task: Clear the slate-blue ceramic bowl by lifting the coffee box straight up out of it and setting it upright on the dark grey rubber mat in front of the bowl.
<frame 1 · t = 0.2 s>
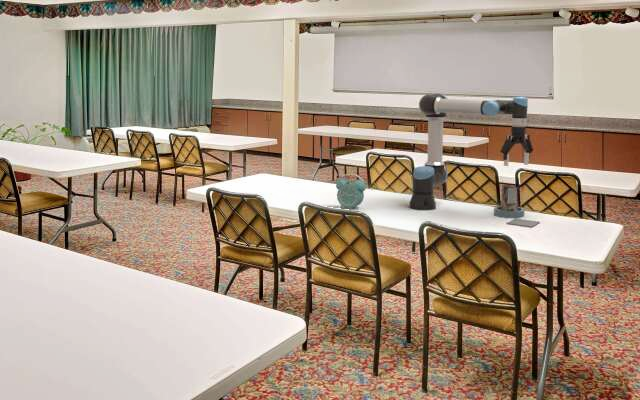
hand: (516, 165, 334), 27 cm above the table, tool pointing down, fingers open, 13 cm apart
alarm clock: (350, 208, 356), on the table
mat: (523, 223, 320), on the table
coffee box: (508, 215, 339), resting in bowl
bowl: (508, 214, 339), on the table
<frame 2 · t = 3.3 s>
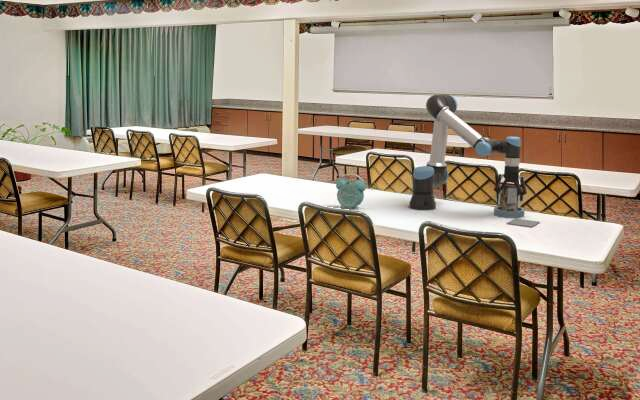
hand: (509, 205, 338), 5 cm above the table, tool pointing down, fingers closed on coffee box, 10 cm apart
coffee box: (508, 215, 339), resting in bowl, touching gripper
everything else where it was.
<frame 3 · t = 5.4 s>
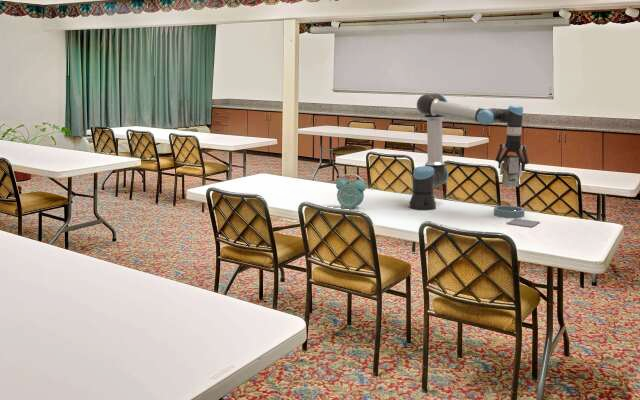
hand: (510, 175, 335), 22 cm above the table, tool pointing down, fingers closed on coffee box, 10 cm apart
coffee box: (510, 185, 336), point 16 cm above the table, touching gripper
everything else where it was.
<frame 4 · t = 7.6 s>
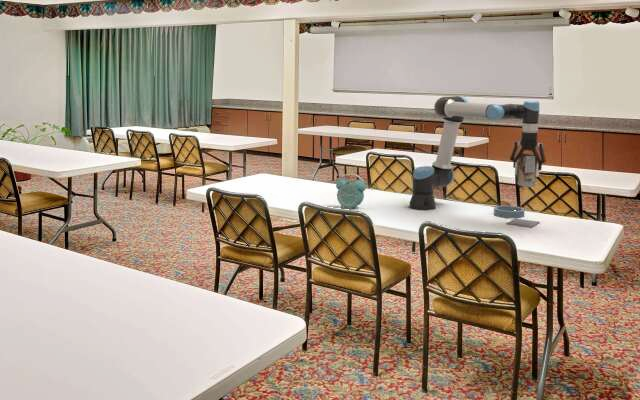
hand: (526, 175, 315), 25 cm above the table, tool pointing down, fingers closed on coffee box, 10 cm apart
coffee box: (525, 185, 316), point 20 cm above the table, touching gripper
everything else where it was.
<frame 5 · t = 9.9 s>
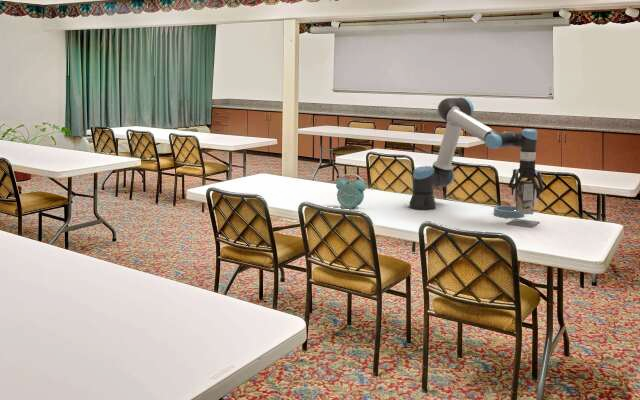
hand: (524, 202, 318), 11 cm above the table, tool pointing down, fingers closed on coffee box, 10 cm apart
coffee box: (524, 213, 319), point 6 cm above the table, touching gripper
everything else where it was.
when the fingers open (7 cm above the table, at t = 11.8 s): coffee box drops 1 cm, resting on mat.
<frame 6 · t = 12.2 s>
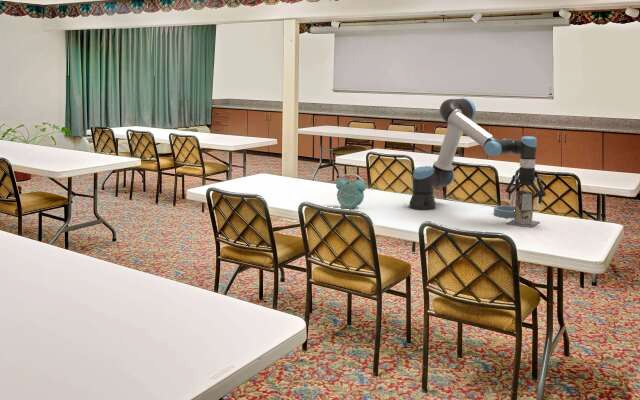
hand: (524, 207, 318), 8 cm above the table, tool pointing down, fingers open, 13 cm apart
coffee box: (522, 222, 320), resting on mat
everything else where it was.
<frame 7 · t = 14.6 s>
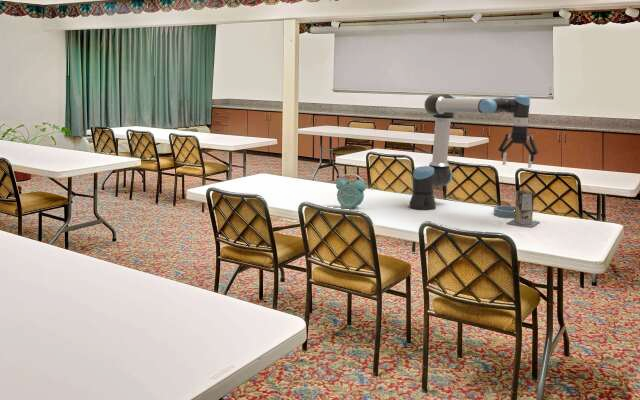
hand: (516, 166, 324), 29 cm above the table, tool pointing down, fingers open, 13 cm apart
nothing on the table moved.
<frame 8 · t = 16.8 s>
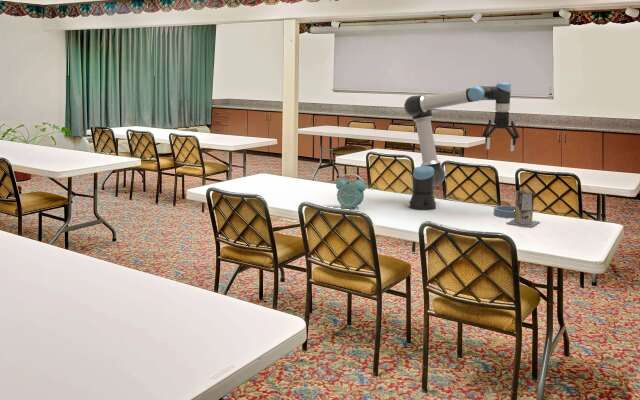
hand: (499, 150, 341), 35 cm above the table, tool pointing down, fingers open, 13 cm apart
nothing on the table moved.
at the end: coffee box inside the target area on the mat (0.2 cm from its centre), point 0.4 cm above the mat's base; coffee box tilted 0°; the gripper is holding nothing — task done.
